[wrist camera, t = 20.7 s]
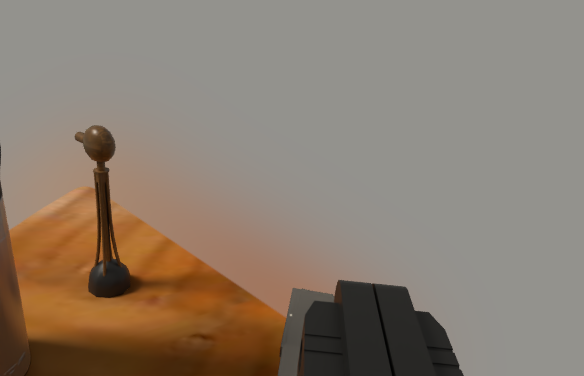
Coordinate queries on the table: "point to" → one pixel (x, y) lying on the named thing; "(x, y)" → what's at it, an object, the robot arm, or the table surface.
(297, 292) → the charcoal domino
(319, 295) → the charcoal domino
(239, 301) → the table surface
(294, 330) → the charcoal domino
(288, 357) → the charcoal domino
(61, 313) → the table surface
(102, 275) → the wooden tabletop sculpture
